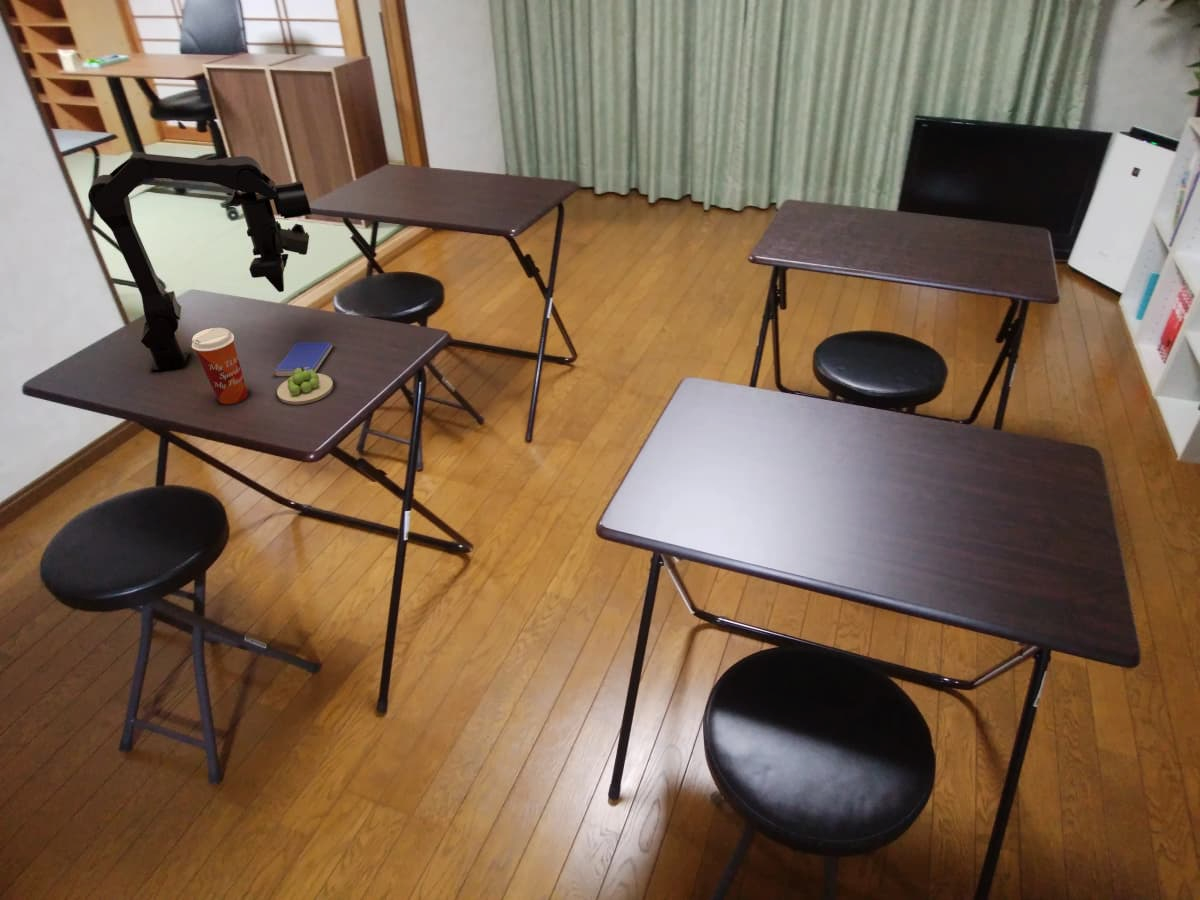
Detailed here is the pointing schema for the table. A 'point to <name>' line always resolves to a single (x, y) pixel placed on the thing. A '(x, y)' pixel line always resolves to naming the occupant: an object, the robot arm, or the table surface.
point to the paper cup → (221, 364)
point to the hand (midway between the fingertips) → (281, 291)
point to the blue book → (304, 357)
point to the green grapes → (302, 381)
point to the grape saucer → (306, 397)
